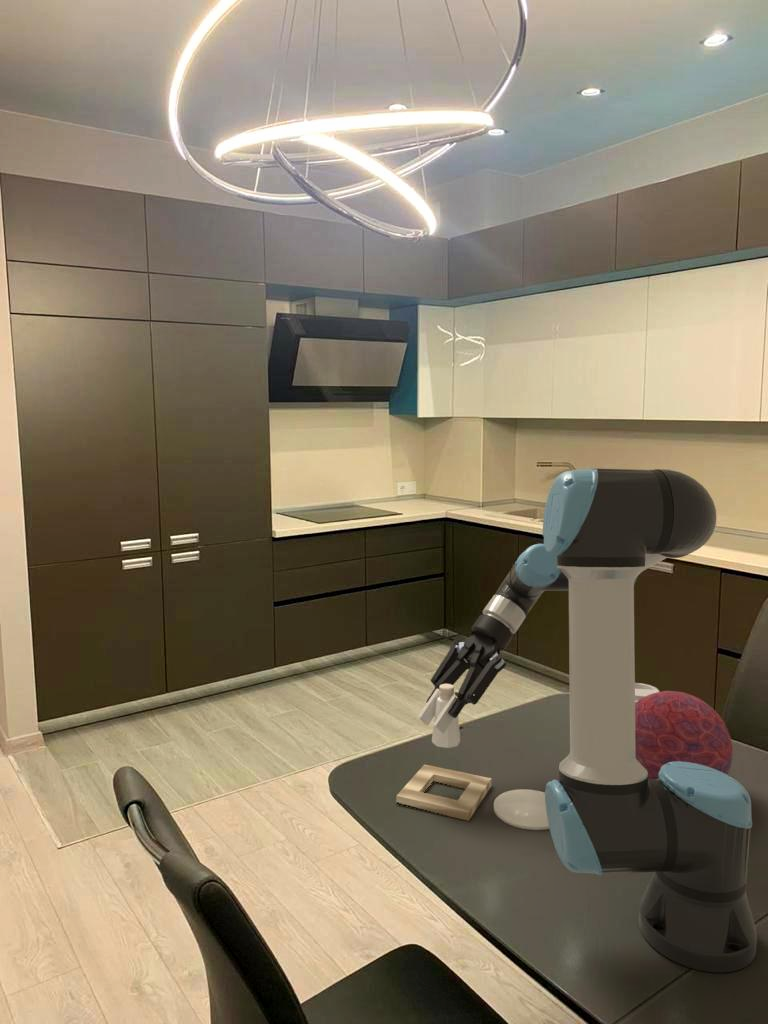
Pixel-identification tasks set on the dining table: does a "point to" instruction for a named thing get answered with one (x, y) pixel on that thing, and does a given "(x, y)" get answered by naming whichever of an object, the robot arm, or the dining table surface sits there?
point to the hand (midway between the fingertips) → (430, 725)
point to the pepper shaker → (452, 732)
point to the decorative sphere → (680, 733)
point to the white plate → (522, 809)
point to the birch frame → (458, 808)
